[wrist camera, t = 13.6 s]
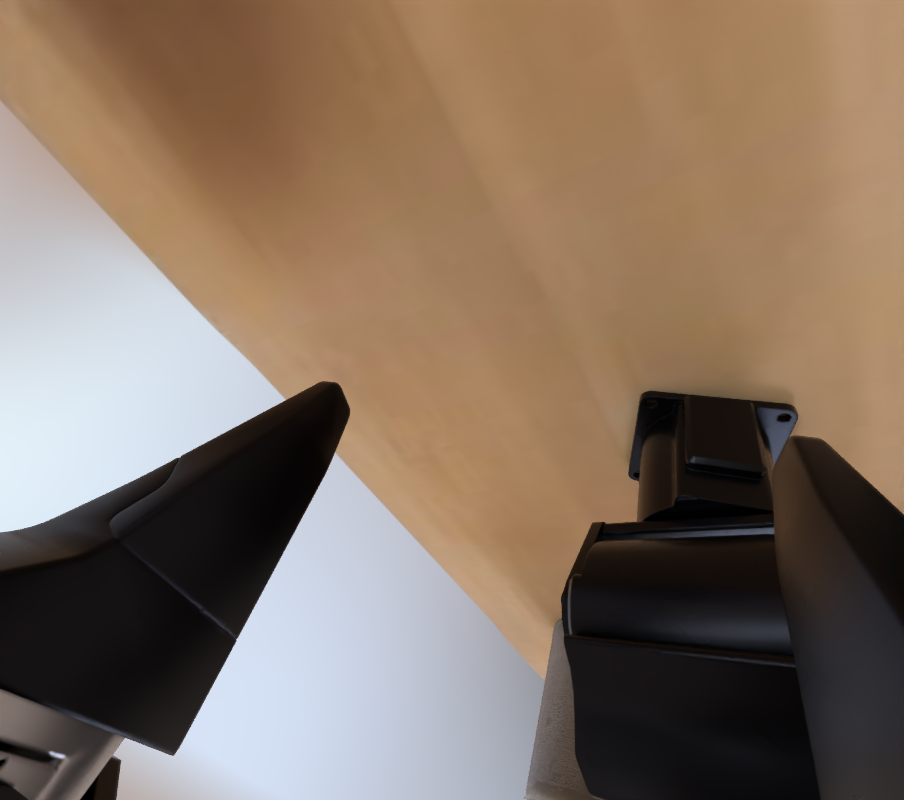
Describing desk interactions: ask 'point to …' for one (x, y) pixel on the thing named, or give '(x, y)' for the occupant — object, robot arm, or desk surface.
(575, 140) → the desk surface
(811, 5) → the desk surface
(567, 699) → the pillar candle
